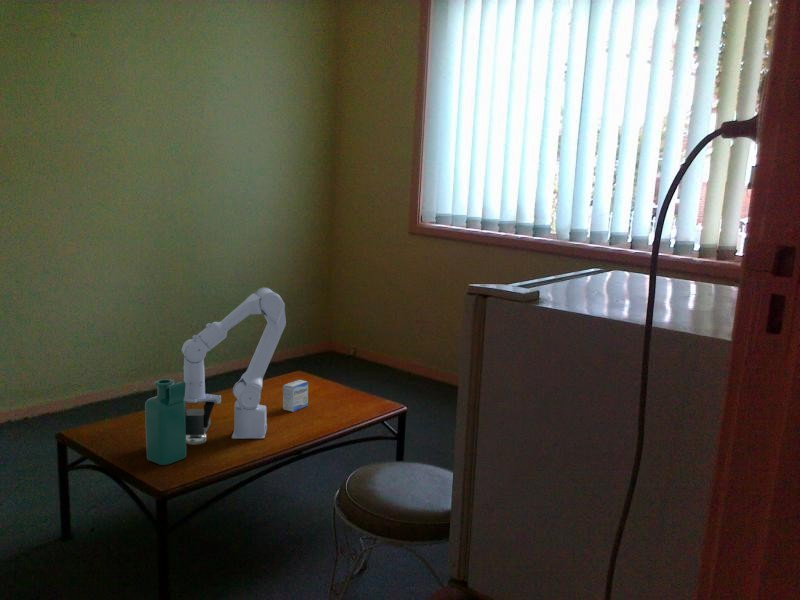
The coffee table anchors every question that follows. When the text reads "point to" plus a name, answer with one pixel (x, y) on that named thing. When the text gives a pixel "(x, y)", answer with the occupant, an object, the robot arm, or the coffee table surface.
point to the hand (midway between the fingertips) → (195, 426)
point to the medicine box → (295, 395)
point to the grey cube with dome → (195, 422)
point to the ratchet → (197, 437)
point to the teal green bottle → (166, 423)
